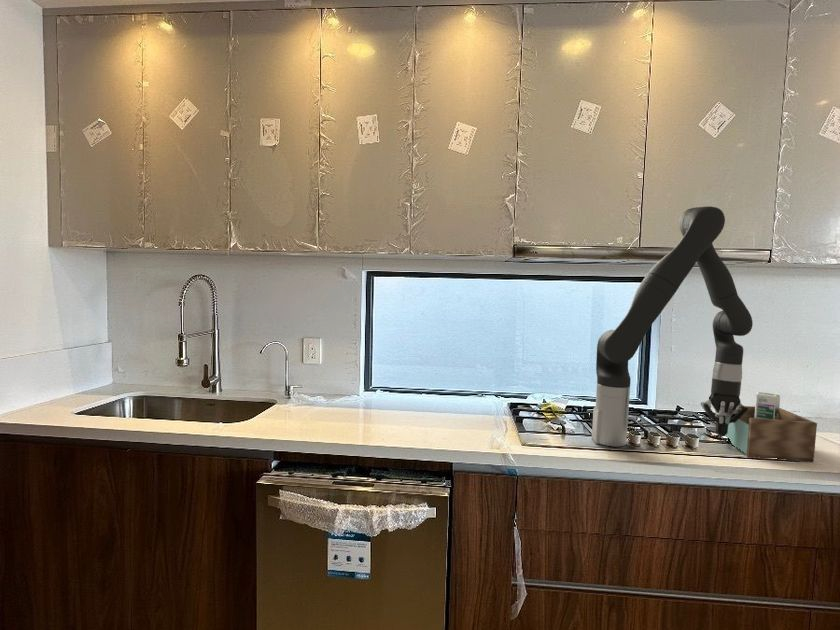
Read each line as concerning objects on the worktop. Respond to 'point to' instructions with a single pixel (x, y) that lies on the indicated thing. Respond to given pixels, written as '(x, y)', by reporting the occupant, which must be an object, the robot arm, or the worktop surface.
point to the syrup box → (767, 405)
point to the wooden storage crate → (780, 436)
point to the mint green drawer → (738, 434)
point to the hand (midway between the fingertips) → (720, 435)
